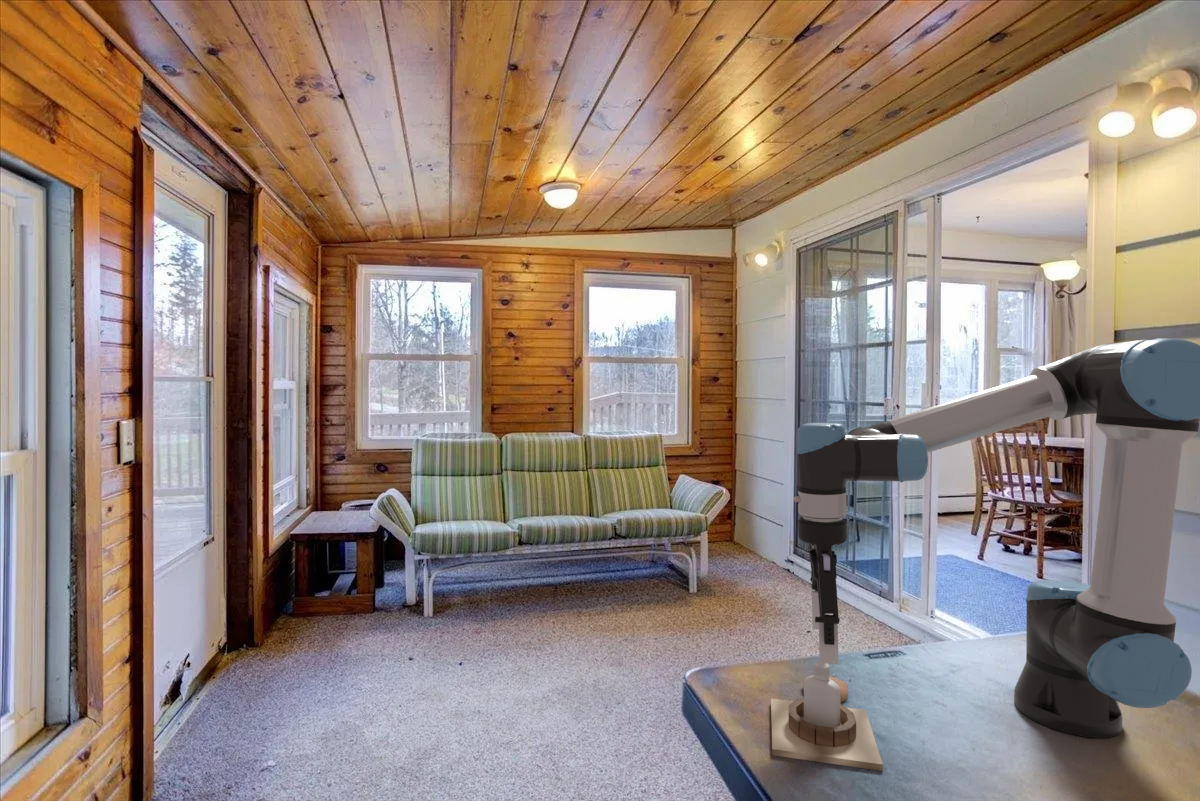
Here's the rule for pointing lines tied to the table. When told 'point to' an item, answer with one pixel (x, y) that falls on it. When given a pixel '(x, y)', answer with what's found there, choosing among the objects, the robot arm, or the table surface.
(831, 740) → the ring collar
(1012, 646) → the table surface
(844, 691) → the peach domed part
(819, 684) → the eye dropper bottle
